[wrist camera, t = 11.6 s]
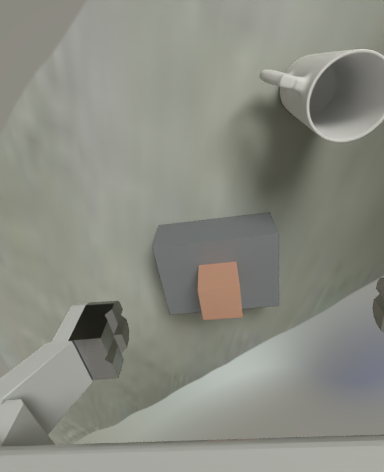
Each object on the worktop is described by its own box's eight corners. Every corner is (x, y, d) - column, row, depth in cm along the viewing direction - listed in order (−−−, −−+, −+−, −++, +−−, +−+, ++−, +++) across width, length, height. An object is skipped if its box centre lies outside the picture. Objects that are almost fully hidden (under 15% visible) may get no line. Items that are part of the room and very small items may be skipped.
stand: (269, 212, 42) (278, 234, 37) (271, 279, 48) (279, 305, 43) (158, 225, 44) (152, 247, 39) (173, 288, 50) (169, 314, 45)
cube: (236, 261, 39) (239, 286, 35) (239, 290, 42) (242, 317, 38) (198, 265, 40) (197, 290, 36) (203, 293, 42) (203, 320, 38)
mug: (350, 61, 33) (416, 63, 22) (321, 124, 36) (367, 151, 26) (261, 35, 32) (287, 24, 21) (241, 102, 35) (255, 121, 25)
